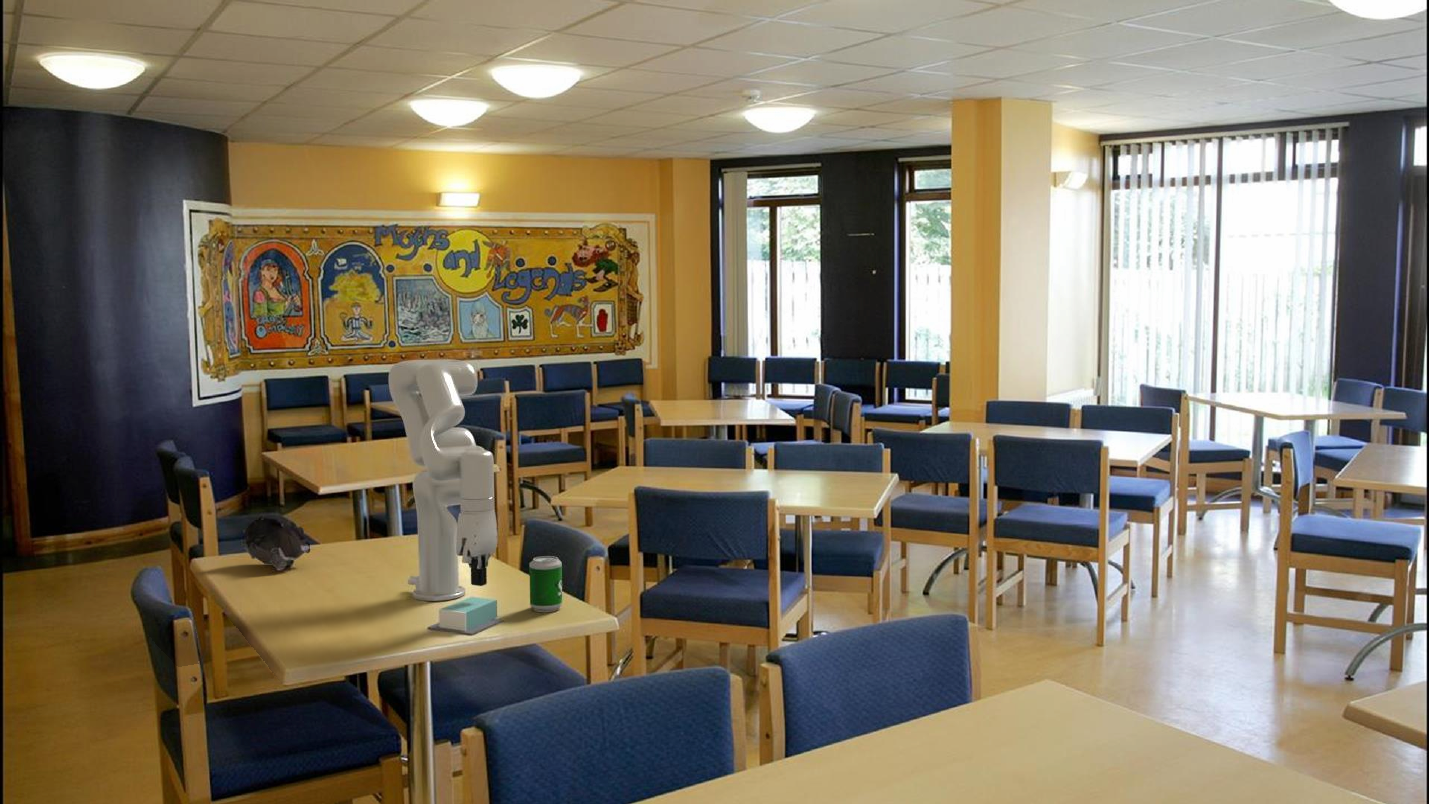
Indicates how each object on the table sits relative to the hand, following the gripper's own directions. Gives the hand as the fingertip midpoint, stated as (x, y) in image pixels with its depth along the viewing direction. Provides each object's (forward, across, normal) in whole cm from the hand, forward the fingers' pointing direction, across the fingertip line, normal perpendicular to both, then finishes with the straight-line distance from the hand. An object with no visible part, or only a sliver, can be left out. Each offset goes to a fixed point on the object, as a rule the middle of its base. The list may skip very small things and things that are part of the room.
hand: (478, 584), depth 259 cm
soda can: (+8, -14, +9) cm, 19 cm away
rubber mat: (+8, +5, 0) cm, 10 cm away
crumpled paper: (+8, -21, -83) cm, 86 cm away
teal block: (+6, -2, 0) cm, 6 cm away
